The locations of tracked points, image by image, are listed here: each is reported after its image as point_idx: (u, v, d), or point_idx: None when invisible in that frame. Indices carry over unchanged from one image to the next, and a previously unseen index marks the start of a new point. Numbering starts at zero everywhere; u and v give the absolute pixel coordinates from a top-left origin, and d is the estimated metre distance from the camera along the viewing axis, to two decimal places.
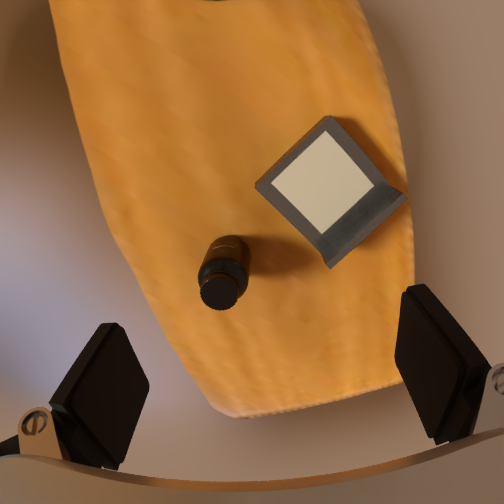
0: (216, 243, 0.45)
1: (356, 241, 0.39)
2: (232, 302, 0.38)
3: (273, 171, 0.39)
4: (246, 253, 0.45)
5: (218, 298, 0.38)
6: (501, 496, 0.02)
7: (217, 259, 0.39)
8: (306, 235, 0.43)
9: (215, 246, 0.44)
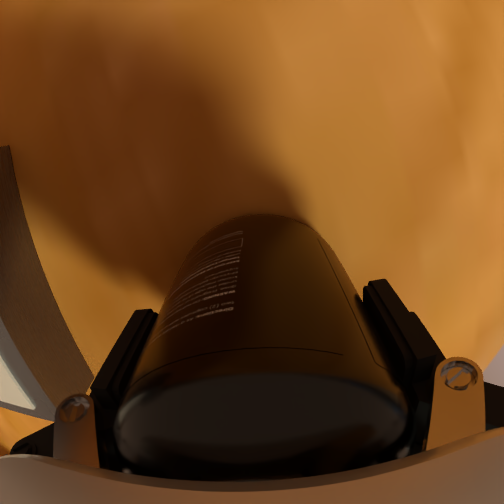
0: None
1: None
2: None
3: (29, 413, 0.13)
4: None
5: None
6: (501, 496, 0.02)
7: None
8: None
9: None
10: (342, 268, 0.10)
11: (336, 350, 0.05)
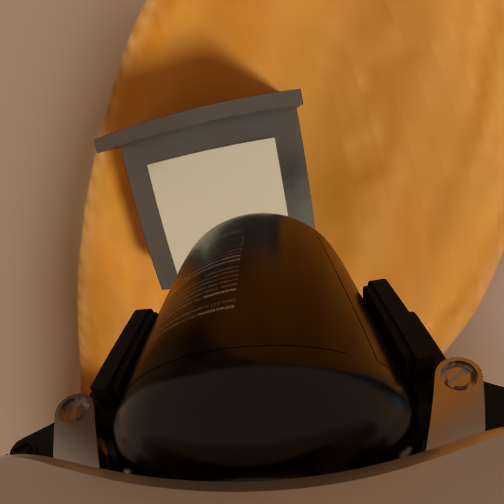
0: None
1: (220, 110, 0.17)
2: None
3: None
4: None
5: None
6: (501, 496, 0.02)
7: None
8: (299, 150, 0.22)
9: None
10: (343, 267, 0.10)
11: (338, 348, 0.05)
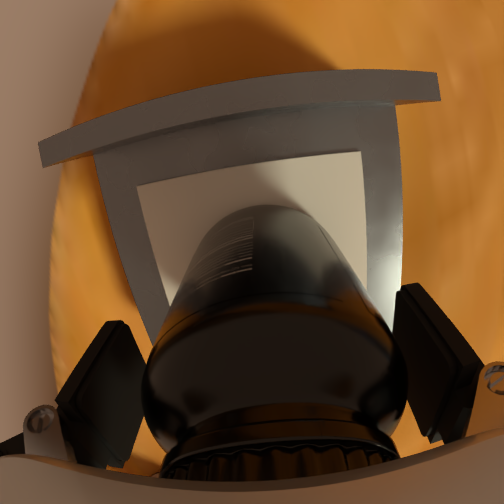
0: None
1: (291, 89, 0.08)
2: None
3: None
4: None
5: None
6: (501, 496, 0.02)
7: None
8: (395, 176, 0.13)
9: None
10: (340, 250, 0.11)
11: (336, 297, 0.06)
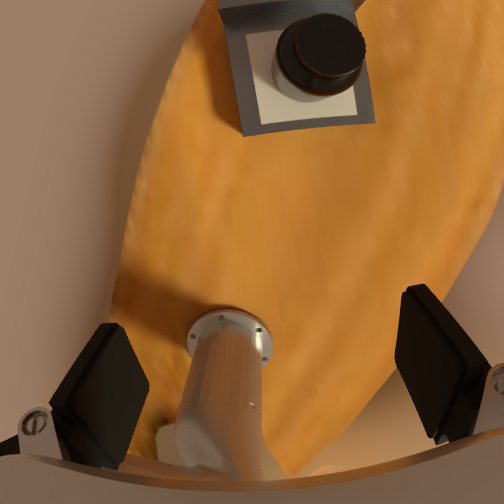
0: (301, 100, 0.26)
1: None
2: (321, 18, 0.15)
3: (346, 123, 0.29)
4: (272, 61, 0.24)
5: (337, 38, 0.16)
6: (501, 496, 0.02)
7: (300, 86, 0.20)
8: None
9: (303, 98, 0.25)
10: None
11: None
